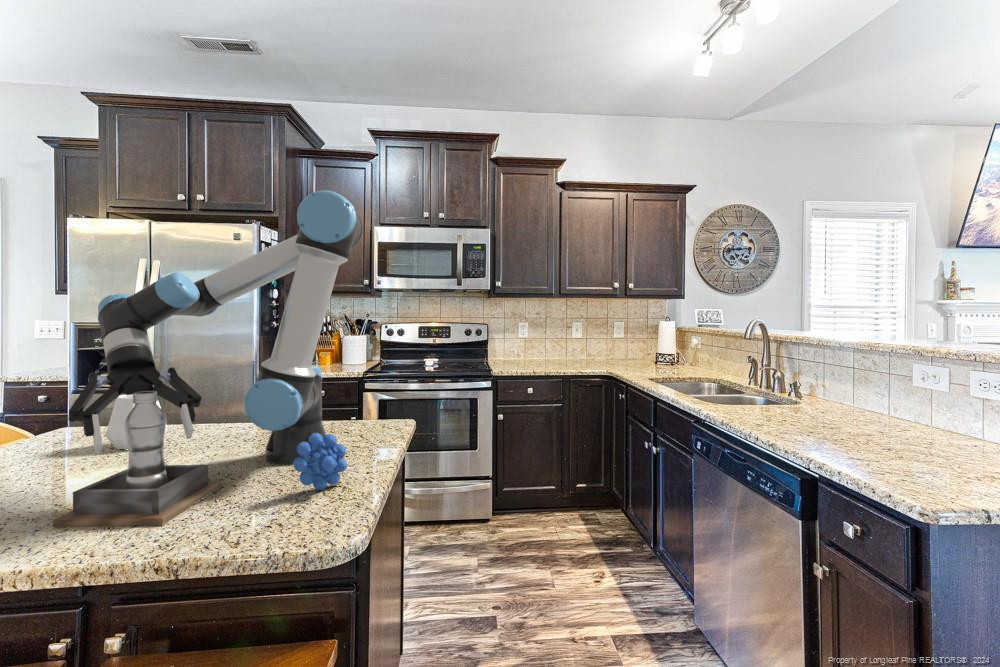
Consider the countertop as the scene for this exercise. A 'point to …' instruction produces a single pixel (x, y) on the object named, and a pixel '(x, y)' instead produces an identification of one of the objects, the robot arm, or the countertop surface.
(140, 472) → the plastic bottle
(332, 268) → the robot arm
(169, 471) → the bottle dock
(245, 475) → the countertop surface
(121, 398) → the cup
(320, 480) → the blue bumpy flower
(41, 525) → the countertop surface
